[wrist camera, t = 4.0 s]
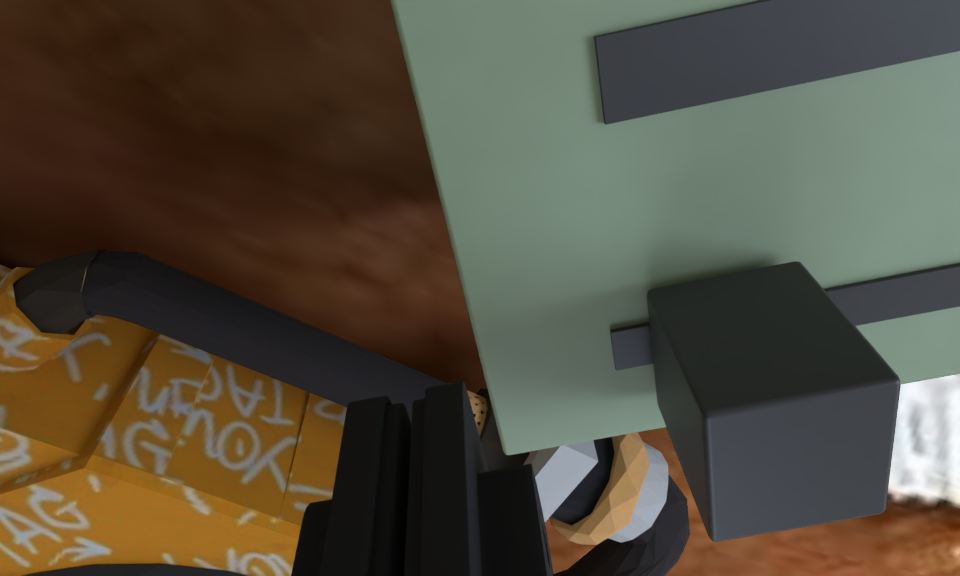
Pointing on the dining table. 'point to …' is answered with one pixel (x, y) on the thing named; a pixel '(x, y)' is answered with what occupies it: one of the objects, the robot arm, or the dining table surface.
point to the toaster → (684, 179)
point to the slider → (772, 401)
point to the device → (234, 433)
